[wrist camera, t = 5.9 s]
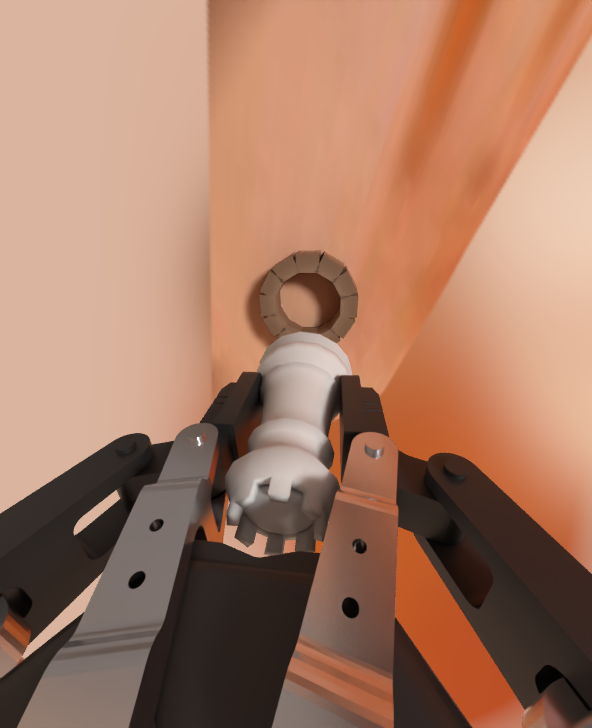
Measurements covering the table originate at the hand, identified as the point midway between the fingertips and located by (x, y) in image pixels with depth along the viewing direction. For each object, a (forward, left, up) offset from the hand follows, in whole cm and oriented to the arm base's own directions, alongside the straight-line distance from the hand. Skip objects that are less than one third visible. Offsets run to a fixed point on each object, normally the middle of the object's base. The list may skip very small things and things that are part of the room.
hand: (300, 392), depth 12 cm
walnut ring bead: (+1, -1, -18) cm, 18 cm away
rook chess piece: (0, 0, -2) cm, 2 cm away
